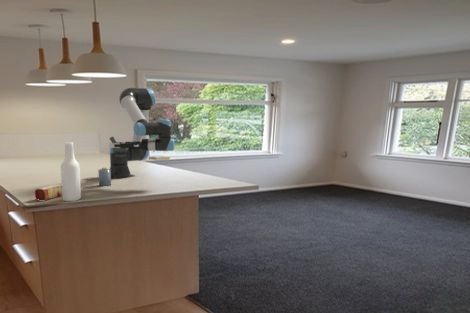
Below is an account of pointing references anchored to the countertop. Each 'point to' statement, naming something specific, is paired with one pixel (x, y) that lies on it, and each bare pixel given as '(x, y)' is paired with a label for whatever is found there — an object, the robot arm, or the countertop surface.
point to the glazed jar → (104, 177)
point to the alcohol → (70, 175)
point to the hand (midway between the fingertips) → (111, 144)
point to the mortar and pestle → (119, 149)
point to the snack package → (48, 192)
